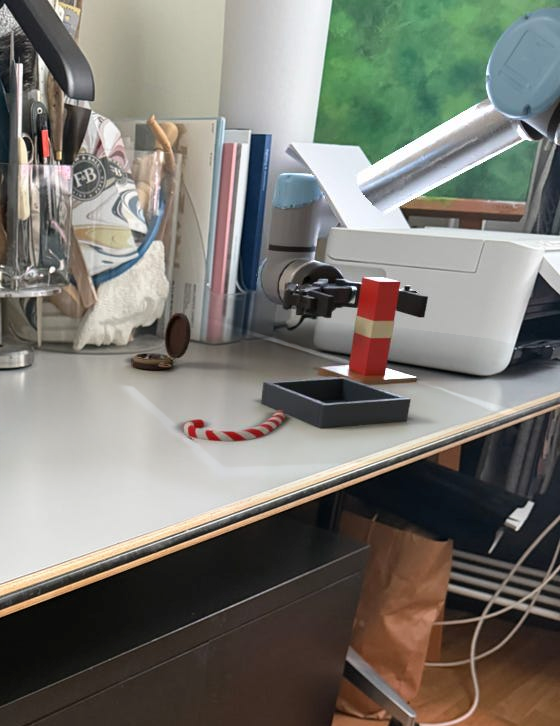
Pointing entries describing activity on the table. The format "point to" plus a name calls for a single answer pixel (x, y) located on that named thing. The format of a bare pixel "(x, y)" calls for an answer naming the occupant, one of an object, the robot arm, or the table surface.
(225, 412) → the table surface
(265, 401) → the tray
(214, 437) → the candy cane
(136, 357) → the compass
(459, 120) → the robot arm
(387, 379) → the board
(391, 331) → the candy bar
